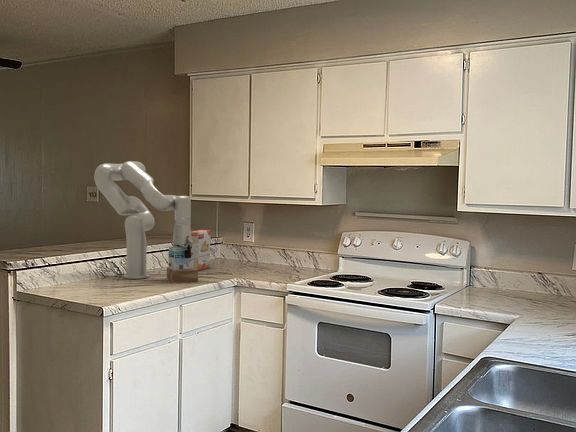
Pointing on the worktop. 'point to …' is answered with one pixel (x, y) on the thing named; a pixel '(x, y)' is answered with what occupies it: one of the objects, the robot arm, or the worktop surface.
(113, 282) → the worktop surface
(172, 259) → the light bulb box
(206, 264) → the cracker box
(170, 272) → the walnut block
